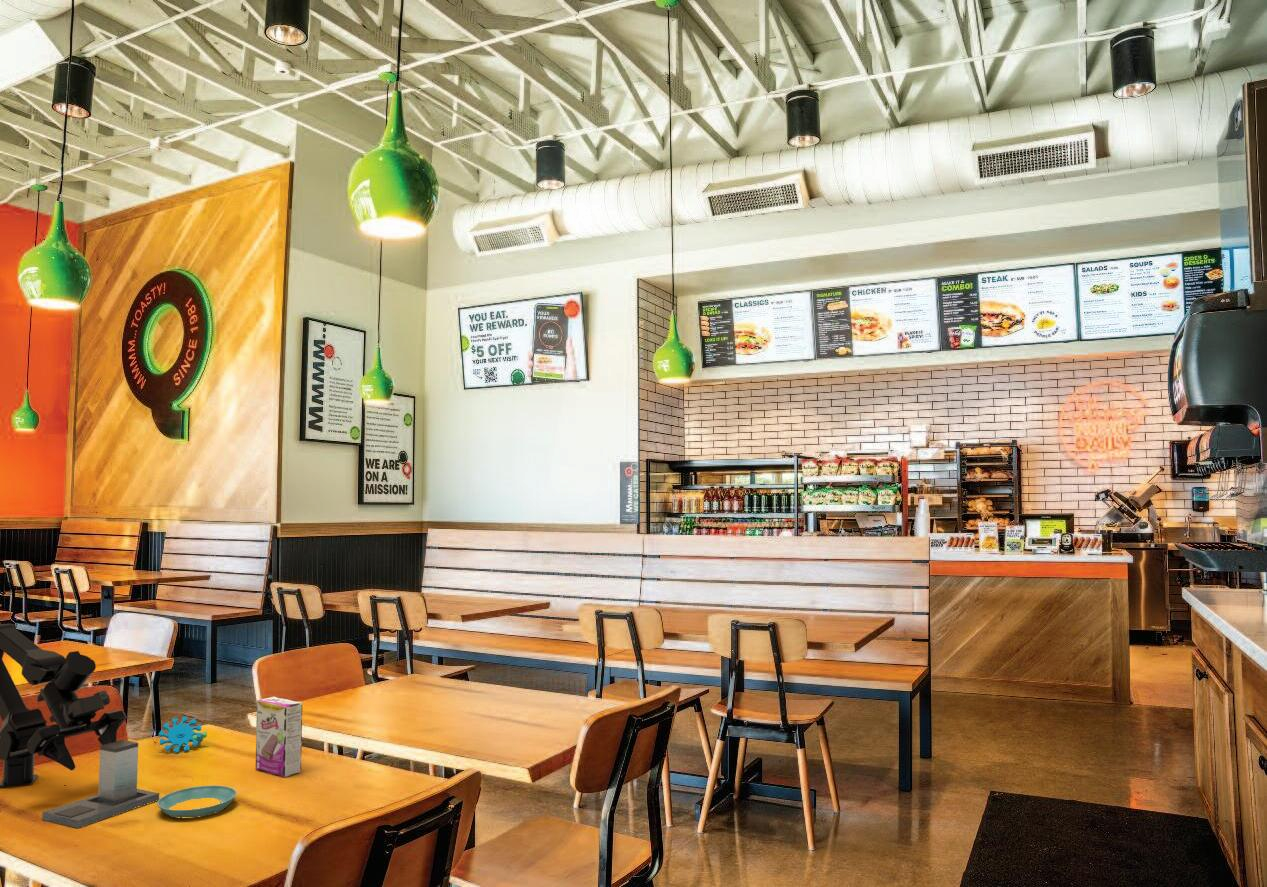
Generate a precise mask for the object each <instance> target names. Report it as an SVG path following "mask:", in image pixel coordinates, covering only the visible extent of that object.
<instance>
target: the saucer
mask: <svg viewBox="0 0 1267 887" xmlns="http://www.w3.org/2000/svg"><path fill="white" fill-rule="evenodd" d="M237 792H238V791H236V789H235V788H233V787H230V786H225V785H224V786H223V785H201V786H200V785H199V786H193V787H187V788H183V789H179V790H175V791H173V792H170V793H167V794H166V795H163V796H162V797H159V800H158V801H156V802H157V804H156V805H157V806H158V808H159V809H160V810H161V811H162V812H163V813H164V814H166V815H167V816H168V815H169V816H168V817H170V816H172V817H171V818H173V817H180V818H182V817H198V816H204V817H206V816H205V815H208V816H210V815H209V814H212V815H214V814H213V813H215V812H217V813H219V812H218V811H220V812H221V810H222V811H223V810H224V808H225V809H226V808H227V807H228V806H229V805H230V804H231V803H232V802H233V800H235V797H236V796H237ZM201 798H215V799H218V800H219V801H220V800H221V801H222V802H223V803H222V802H221V801H220V804H217V805H214V806H210V807H205V808H200V809H192V810H170V809H169V808H170V807H172V806H174V805H176V804H177V803H181V802H184V801H187V800H191V799H201ZM215 814H216V813H215ZM198 818H199V817H198Z"/></svg>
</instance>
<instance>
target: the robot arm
mask: <svg viewBox="0 0 1267 887" xmlns="http://www.w3.org/2000/svg"><path fill="white" fill-rule="evenodd" d="M4 654H6V655H7V656H9V657H10V658H12V660H13V661H15V662H16V663H17V664H18V665H19V666H20V667H21V675H22V677H23V678H24V679H25V680H26V682H28V683H29V684H30V685H31V686H36V685H42V684H45V685H44V687H43V688H40V691H39V694H38V696H37V698H36V699H37V700H36V701H37V703H40V702H45V705H46V706H47V708H48V710H49V712H50V714H51V715H50V717H49V722H50V723H54V722H55V724H51V725H48V724H47V723H48V721H47V720H46V719H45V717H44V715H43V713H42V711H41V710H40V709H39V708H34V709H33V708H32V709H30V708H28V707H27V706H26V704H25V702H24V699H23V698H22V695H21V694H20V691H19V689H18V688H17V686H16V684H15V682H14V680H13V678H12V676H11V673H10V671H8V668H7V667H6V665H5V662H4V660H3V658H4ZM96 667H97V666H96V662H95V661H94V659H92V658H91V657H89V656H87V655H85V654H81V653H80V651H79V650H75V651H69V652H68V653H67V655H66V656H64V655H62V654H60V653H58V652H55V651H53V650H46V649H43V648H40V647H39V646H38V645H37V644H36V643H34V642H33V641H32V640H31V639H29V638H28V637H27V636H25V635H24V634H23V633H22V632H20V631H19V630H18V628H17V627H16V625H15V624H13V623H2V624H0V719H1V721H2V723H1V725H0V726H1V727H0V760H1V761H3V765H2V766H3V768H2V769H3V770H2V780H1V781H0V789H1V788H9V787H10V786H11V787H18V786H20V787H21V786H28V785H32V784H34V782H35V781H36V780H37V778H38V777H39V774H38V773H34V772H35V771H34V770H35V755H36V754H37V755H38V756H39V757H40V756H43V757H45V758H48V759H50V760H52V761H54V762H56V763H58V764H59V765H61V766H63V767H65V769H66V768H67V769H68V770H70V771H74V770H75V768H76V765H75V762H74V759H73V757H72V755H71V753H70V751H69V749H68V748H67V745H66V742H65V739H66V738H70V737H75V736H78V735H79V736H80V735H83V734H87V733H90V732H94V733H95V735H96V736H98V738H97V741H98V742H99V743H100V745H105V744H109V743H113V742H117V741H118V740H117V734H118V730H119V728H120V727H121V726H122V724H124V723H125V721H126V720H127V716H126V714H125V712H124V711H123V709H116V710H112V711H107V712H104V713H103V714H102V715H101V717H99V719H98V720H95V721H92V719H95V717H96V716H97V712H98V711H100V710H104V709H105V707H106V706H107V705H109V704H110V703H111V699H110V695H109V694H108V692H107V691H106V690H100V691H98V692H96V693H93V695H90V696H85V697H79V695H78V693H77V691H78V690H80V689H82V687H83V686H84V685H85V683H86V682H87V681H88V680H89V678H90V677H91V676H92V674H94V672H95V670H96V669H97V668H96ZM11 787H10V788H11Z"/></svg>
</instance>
